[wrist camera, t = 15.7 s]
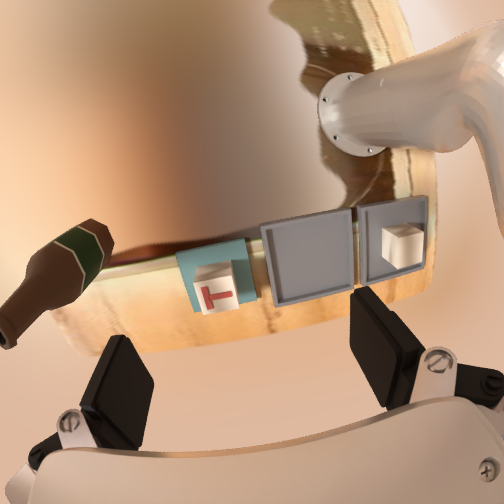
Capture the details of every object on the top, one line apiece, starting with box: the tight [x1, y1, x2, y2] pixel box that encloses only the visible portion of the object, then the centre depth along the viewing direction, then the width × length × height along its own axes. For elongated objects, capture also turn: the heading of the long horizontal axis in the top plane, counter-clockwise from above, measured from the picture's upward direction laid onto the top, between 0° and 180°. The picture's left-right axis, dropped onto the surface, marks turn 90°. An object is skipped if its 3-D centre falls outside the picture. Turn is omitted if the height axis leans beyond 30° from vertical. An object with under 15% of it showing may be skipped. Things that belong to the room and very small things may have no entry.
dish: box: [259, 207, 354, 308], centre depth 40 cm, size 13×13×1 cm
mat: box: [175, 238, 257, 312], centre depth 40 cm, size 10×10×1 cm
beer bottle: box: [0, 219, 114, 350], centre depth 25 cm, size 8×8×24 cm
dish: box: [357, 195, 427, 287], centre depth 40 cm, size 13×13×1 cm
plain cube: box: [382, 223, 424, 269], centre depth 38 cm, size 5×5×5 cm
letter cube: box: [193, 260, 240, 315], centre depth 37 cm, size 5×5×5 cm
